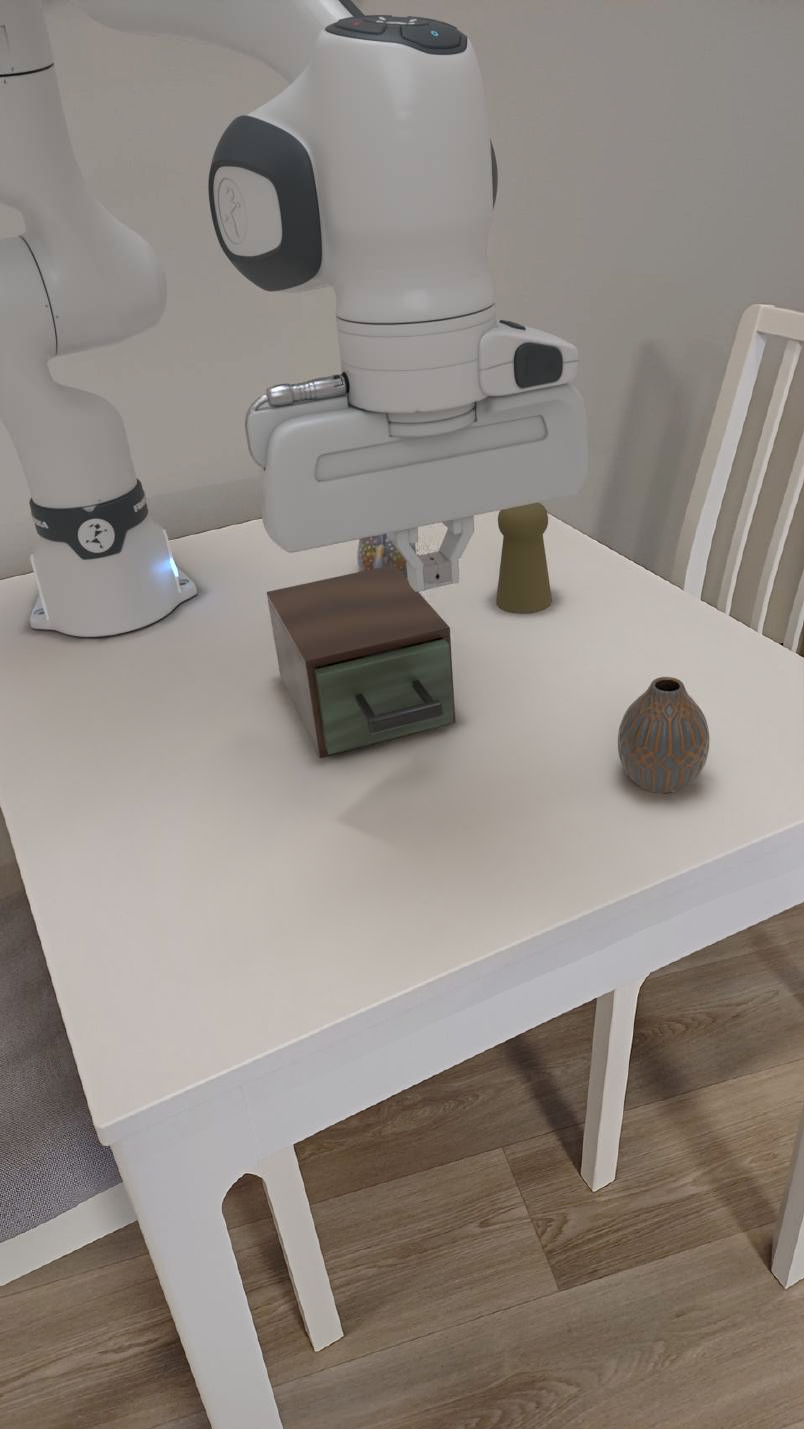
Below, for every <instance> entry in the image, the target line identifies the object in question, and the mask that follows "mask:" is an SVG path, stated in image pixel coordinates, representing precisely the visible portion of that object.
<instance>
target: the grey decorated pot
mask: <svg viewBox="0 0 804 1429" xmlns="http://www.w3.org/2000/svg"><path fill="white" fill-rule="evenodd" d="M409 544H410V546H411V547H412V549H413V550H414V551H415V553H416V554H417V546H416V543H413V544H411V543H410V542H409ZM356 561H357V565H358V569H359V572H361V571H366V570H371V569H375V568H380V567H385V566H389V565H395V566H396V567H397V568H398V569H399V570H400V572H401V573H402V574H403V575H404V576H405V577H406V578H408V576H407V565H406V560H405V559H404V558H403V556H402V555H401V554H400V552H399V551H398V550H397V548H396V547H395V546H394V544H393V543H392V542H391V541H390V539H389V538H388V537H387V533H386V534H382V535H377V536H372V537H367V538H362V539H358V544H357V551H356Z"/></svg>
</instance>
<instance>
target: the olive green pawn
mask: <svg viewBox="0 0 804 1429" xmlns="http://www.w3.org/2000/svg"><path fill="white" fill-rule="evenodd" d="M497 526H498V529H499V532H500V533H501V535H502V536H503V538H502V545H501V553H500V564H499V572H498V581H497V592H496V601H495V602H496V605H497V607H498V608H500V609H501V610H503V611H505V612H509V613H513V614H531V613H538V612H541V611H543V610H545V609H547V608H548V607H549V606H551V604H552V603H553V598H552V591H551V582H550V578H549V576H550V575H549V570H548V561H547V555H546V548H545V541H544V534H545V532H546V531H547V529H548V526H549V515H548V511H547V508H546V507H545V505H544V504H542V502H537V503H532V504H527V505H523V506H518V507H513V508H508V509H503V510H499V511H498V515H497Z"/></svg>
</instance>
